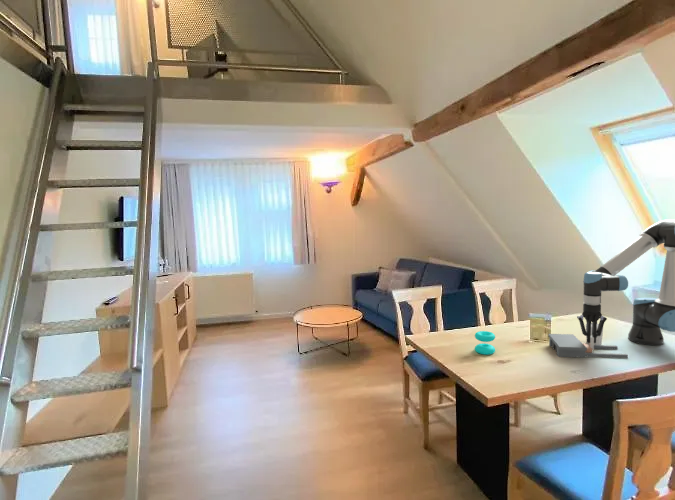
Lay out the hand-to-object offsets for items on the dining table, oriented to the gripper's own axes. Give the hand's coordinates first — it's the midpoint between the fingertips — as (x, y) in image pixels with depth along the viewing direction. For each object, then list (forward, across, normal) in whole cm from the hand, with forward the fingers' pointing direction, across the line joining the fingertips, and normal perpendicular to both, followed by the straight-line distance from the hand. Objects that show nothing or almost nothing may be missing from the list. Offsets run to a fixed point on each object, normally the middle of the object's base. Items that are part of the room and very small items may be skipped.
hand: (591, 348), depth 207 cm
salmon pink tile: (+2, +8, 0) cm, 8 cm away
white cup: (+2, -6, -13) cm, 14 cm away
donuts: (+2, +51, +5) cm, 52 cm away
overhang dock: (+2, +2, 0) cm, 2 cm away
